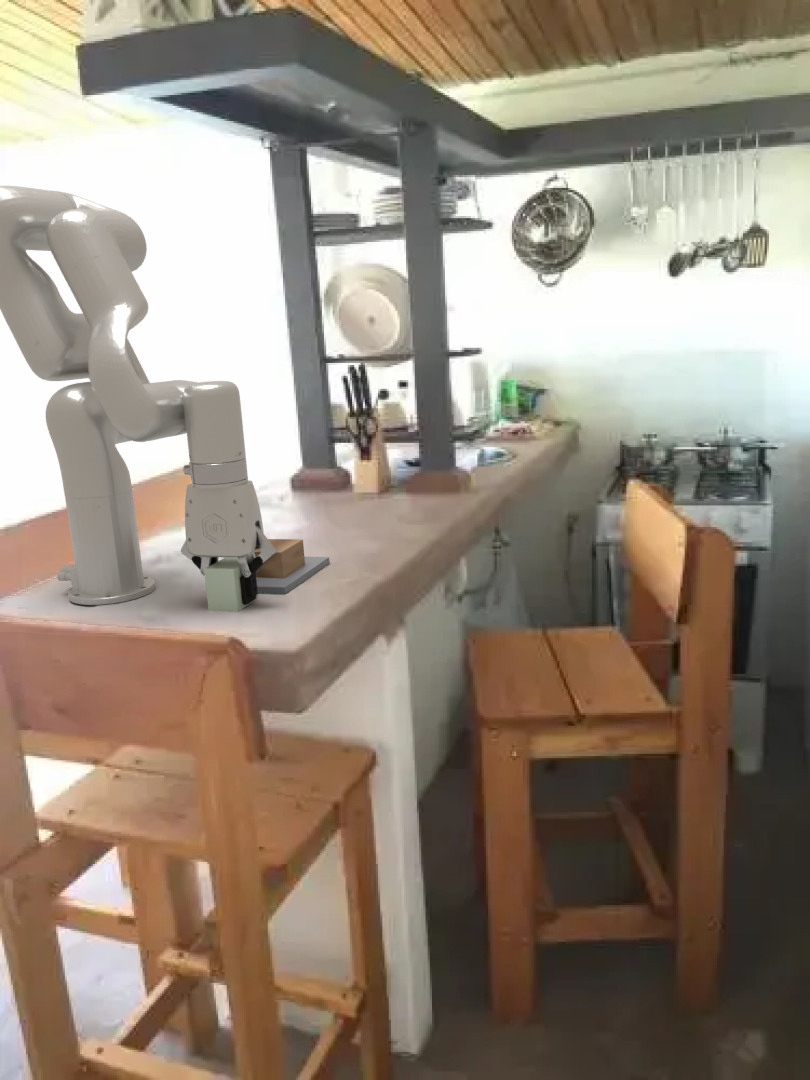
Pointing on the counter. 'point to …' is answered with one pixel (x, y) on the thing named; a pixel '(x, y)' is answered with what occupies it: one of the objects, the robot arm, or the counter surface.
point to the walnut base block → (282, 558)
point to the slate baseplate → (292, 577)
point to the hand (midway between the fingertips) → (232, 599)
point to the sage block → (224, 585)
